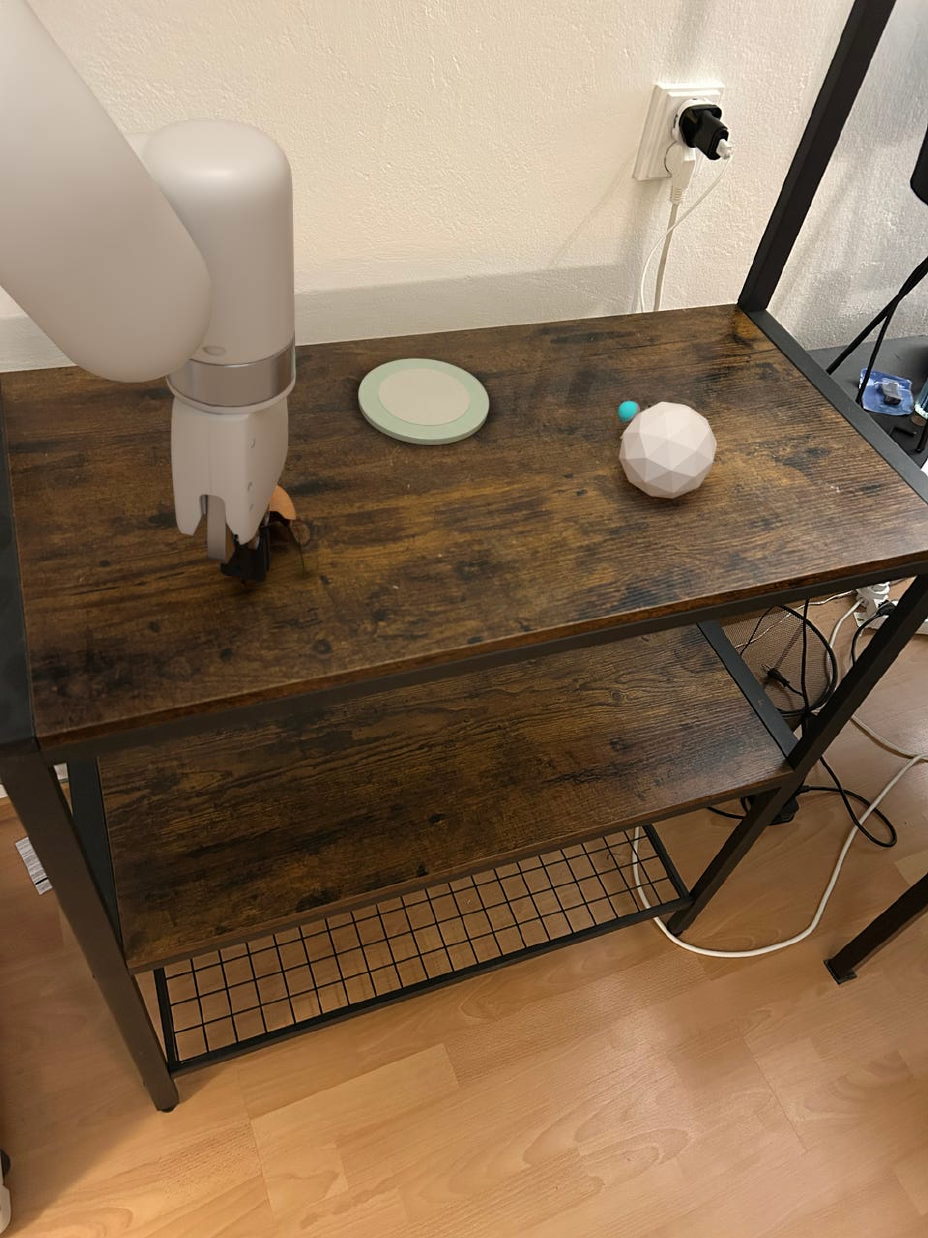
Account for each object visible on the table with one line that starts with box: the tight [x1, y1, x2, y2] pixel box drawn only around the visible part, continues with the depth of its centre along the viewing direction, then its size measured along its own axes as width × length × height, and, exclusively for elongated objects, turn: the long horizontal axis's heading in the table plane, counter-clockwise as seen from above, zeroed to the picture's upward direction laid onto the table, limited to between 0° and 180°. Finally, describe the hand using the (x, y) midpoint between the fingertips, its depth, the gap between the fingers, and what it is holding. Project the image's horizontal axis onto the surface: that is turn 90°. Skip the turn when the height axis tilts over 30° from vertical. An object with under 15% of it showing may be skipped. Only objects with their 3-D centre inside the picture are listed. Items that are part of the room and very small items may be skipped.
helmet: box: [237, 484, 306, 591], centre depth 73 cm, size 6×7×8 cm
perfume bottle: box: [617, 400, 718, 499], centre depth 83 cm, size 8×8×12 cm
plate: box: [357, 357, 490, 446], centre depth 89 cm, size 12×12×1 cm
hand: (246, 571), depth 70 cm, fingers closed
